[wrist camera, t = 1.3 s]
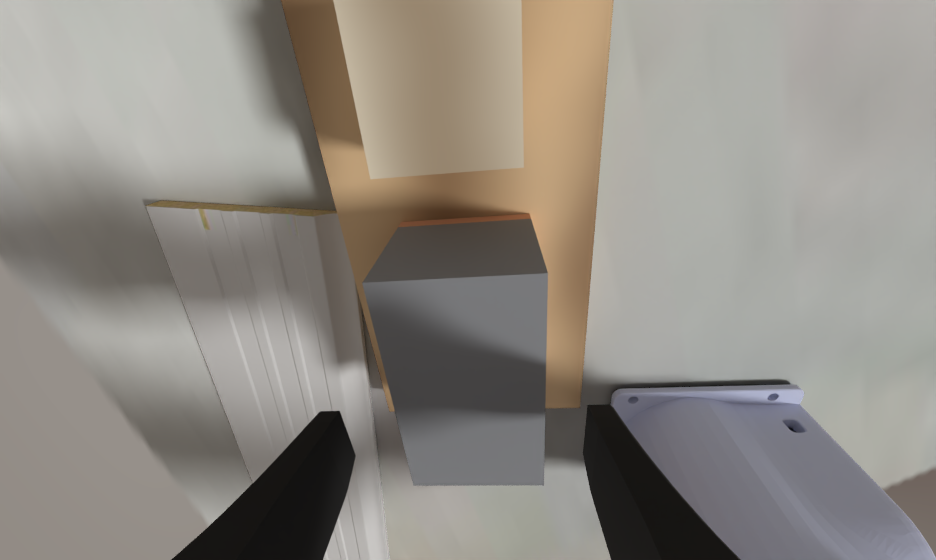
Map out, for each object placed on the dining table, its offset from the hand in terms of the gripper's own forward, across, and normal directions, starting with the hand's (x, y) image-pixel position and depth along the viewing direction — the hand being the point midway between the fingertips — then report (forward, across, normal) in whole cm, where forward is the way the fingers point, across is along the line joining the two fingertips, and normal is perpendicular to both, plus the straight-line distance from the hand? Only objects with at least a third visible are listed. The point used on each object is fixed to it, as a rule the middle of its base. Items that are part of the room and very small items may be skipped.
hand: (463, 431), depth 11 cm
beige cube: (+6, 0, -9) cm, 11 cm away
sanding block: (+6, 0, 0) cm, 6 cm away
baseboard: (+9, +10, +10) cm, 17 cm away
